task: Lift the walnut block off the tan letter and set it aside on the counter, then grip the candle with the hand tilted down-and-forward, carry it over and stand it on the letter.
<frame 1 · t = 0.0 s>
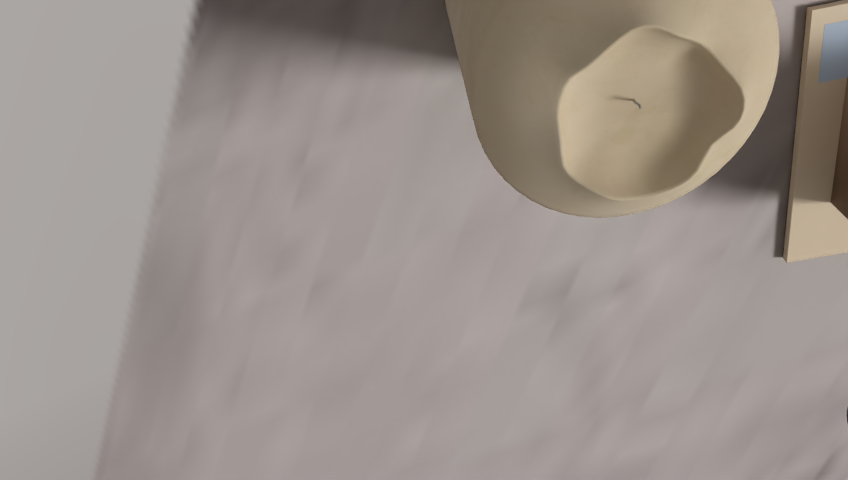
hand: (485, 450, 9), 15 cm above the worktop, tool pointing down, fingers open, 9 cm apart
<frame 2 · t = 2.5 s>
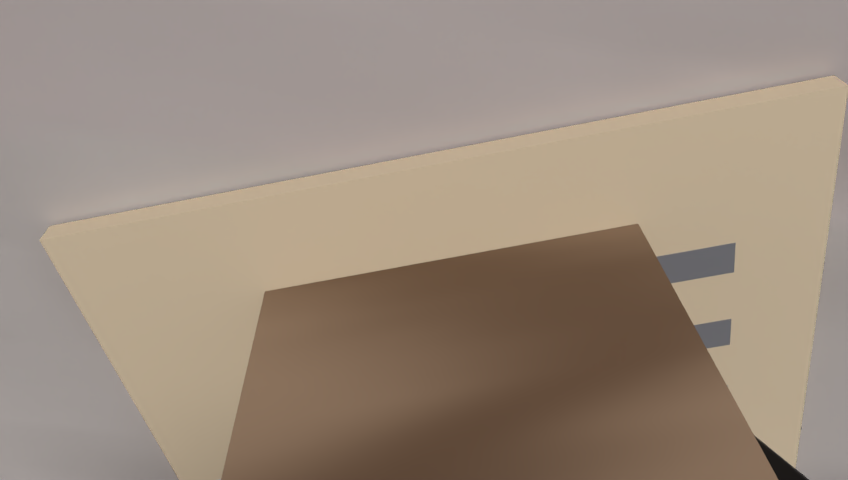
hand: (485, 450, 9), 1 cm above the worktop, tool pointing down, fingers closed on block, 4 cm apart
block: (476, 391, 10), resting on letter, touching gripper
letter: (473, 375, 10), on the worktop
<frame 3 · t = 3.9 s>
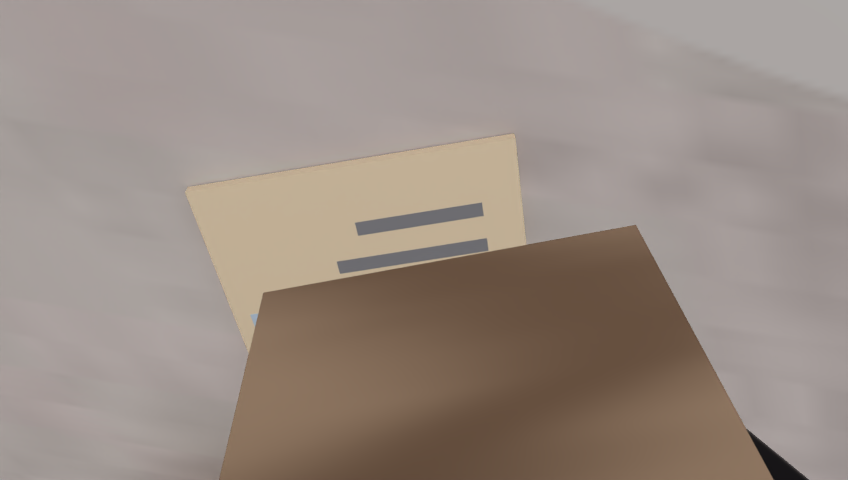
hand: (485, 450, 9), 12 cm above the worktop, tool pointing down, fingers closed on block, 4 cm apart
block: (474, 392, 10), point 11 cm above the worktop, touching gripper
letter: (374, 264, 22), on the worktop
when the fingers open (2 cm above the worktop, at t = 5.5 s): block drops 2 cm, on the worktop.
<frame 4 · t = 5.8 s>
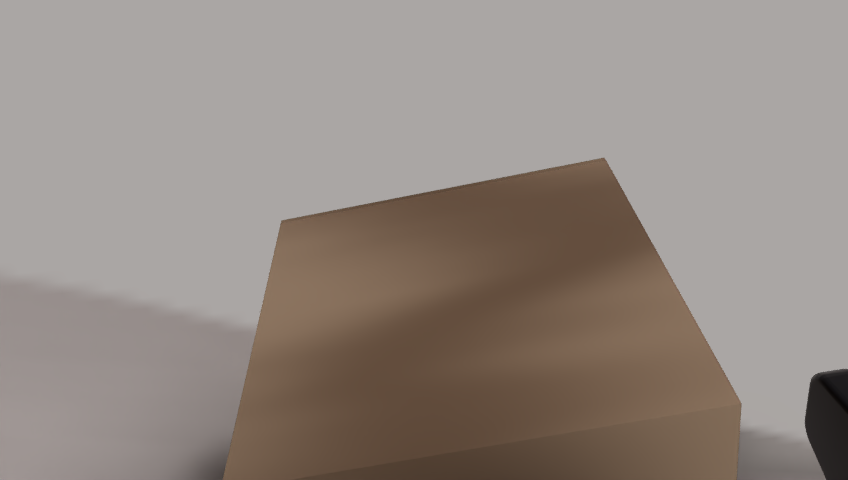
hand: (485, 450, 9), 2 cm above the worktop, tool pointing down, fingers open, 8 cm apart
block: (466, 314, 11), on the worktop
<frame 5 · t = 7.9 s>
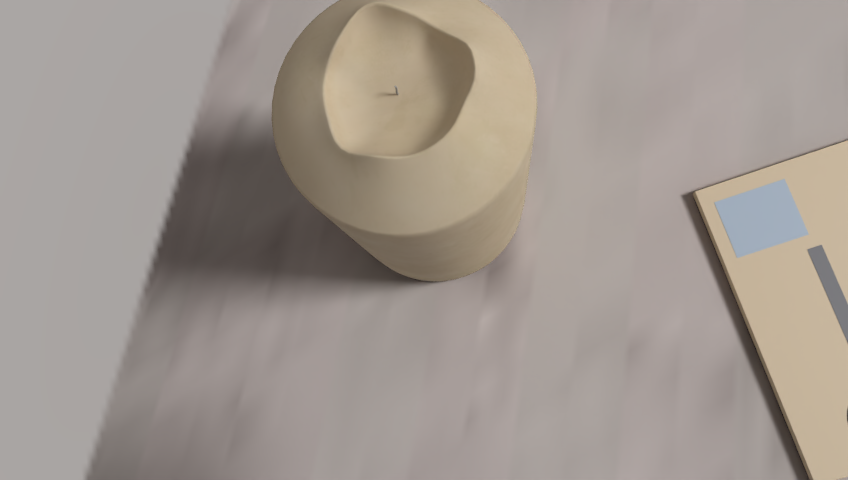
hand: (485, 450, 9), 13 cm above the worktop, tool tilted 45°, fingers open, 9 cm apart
candle: (438, 199, 23), on the worktop
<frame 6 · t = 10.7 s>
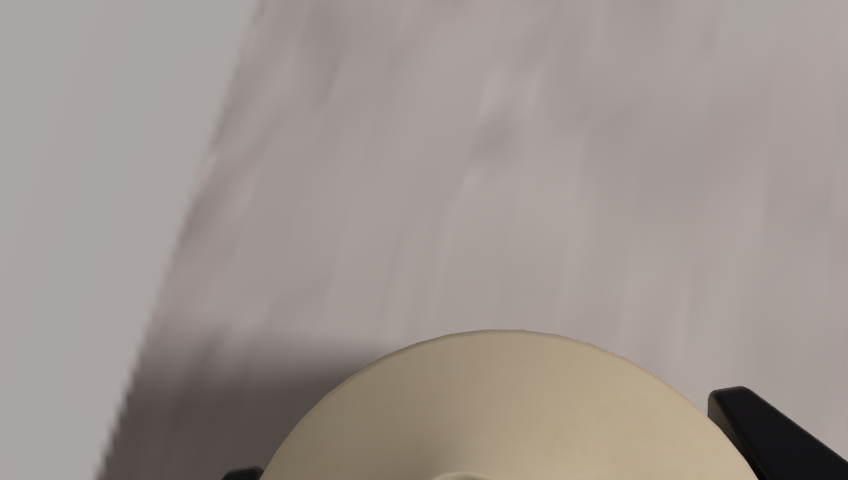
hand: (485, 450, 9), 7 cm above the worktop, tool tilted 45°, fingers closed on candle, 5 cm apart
when the fingers open (8 cm above the worktop, at t = 14.3 s): candle stays where it is, resting on letter.
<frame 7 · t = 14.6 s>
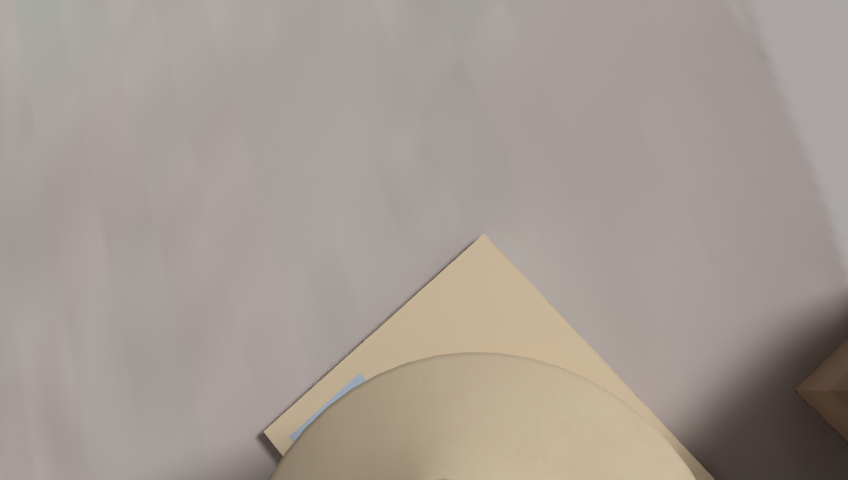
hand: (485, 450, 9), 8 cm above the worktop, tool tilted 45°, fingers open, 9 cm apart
letter: (504, 479, 17), on the worktop
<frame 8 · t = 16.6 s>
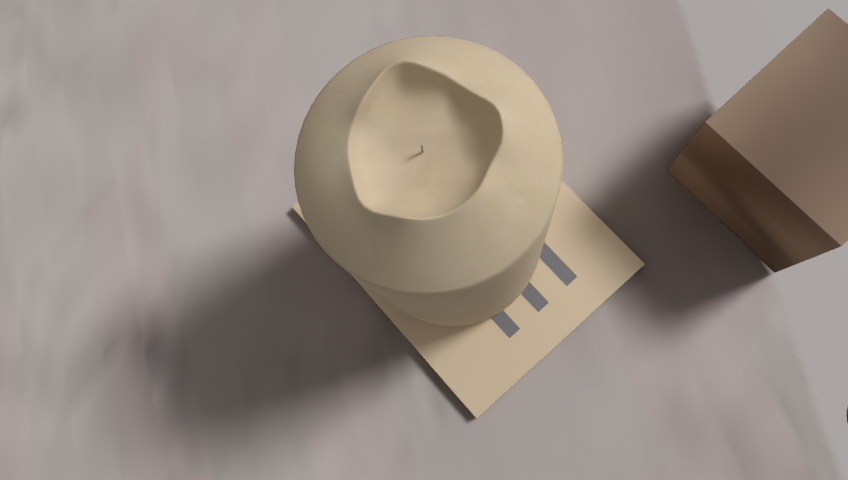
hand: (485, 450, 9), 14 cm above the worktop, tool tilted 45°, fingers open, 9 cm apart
block: (770, 172, 23), on the worktop
candle: (453, 241, 23), resting on letter
letter: (463, 236, 23), on the worktop
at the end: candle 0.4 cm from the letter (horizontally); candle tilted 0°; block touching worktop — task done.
